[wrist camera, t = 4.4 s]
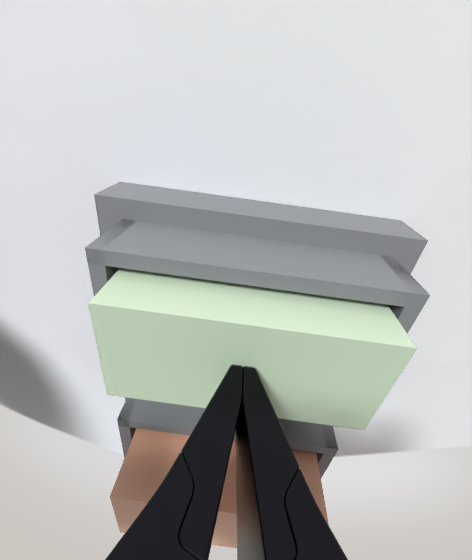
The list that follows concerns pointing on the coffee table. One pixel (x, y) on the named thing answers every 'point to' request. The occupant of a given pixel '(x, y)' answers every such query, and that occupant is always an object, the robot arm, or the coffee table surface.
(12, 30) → the coffee table surface
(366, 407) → the sage button
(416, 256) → the button panel
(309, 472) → the orange brown block
